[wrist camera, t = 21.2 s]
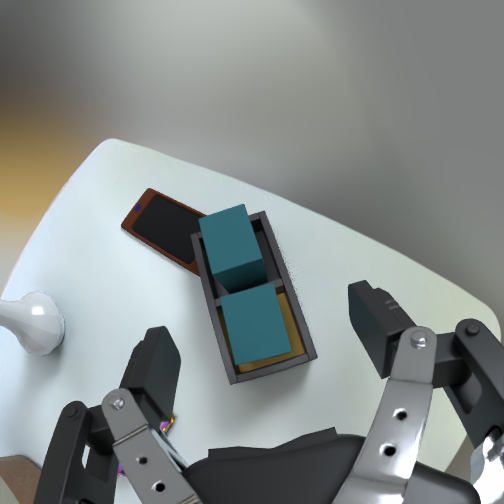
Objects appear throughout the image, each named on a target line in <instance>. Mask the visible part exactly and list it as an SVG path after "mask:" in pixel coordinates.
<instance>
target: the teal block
mask: <svg viewBox="0 0 504 504" xmlns="http://www.w3.org/2000/svg"><path fill="white" fill-rule="evenodd" d="M220 300H221V305H222V309H223V314H224V318H225V323H226V327H227V331H228V336H229V340H230V344H231V348H232V353H233V357H234V361H235V365H240V364H246V363H250V362H255V361H259V360H263V359H267V358H271V357H275V356H279V355H282V354H286V353H290V352H292V349H291V346H290V342H289V338H288V334H287V331H286V327H285V323H284V320H283V316H282V312H281V309H280V305H279V302H278V298H277V294H276V291H275V287H274V284H273V283H271V284H268V285H264V286H260V287H257V288H253V289H249V290H245V291H241V292H238V293H234V294H230V295H226V296H222V297H220Z"/></svg>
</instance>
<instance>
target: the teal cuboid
mask: <svg viewBox="0 0 504 504" xmlns="http://www.w3.org/2000/svg"><path fill="white" fill-rule="evenodd" d="M199 224H200V228H201V232H202V236H203V240H204V244H205V248H206V252H207V256H208V260H209V264H210V268H211V272H212V275H213V276H214V277H215V278H216V279H217V280H218V282H219V283H220V284H221V285H222V286H223V287H224V289H225V290H226V291H227V292H228V293H229V294H234V293H237V292H240V291H243V290H246V289H249V288H253V287H256V286H259V285H262V284H265V283H268V280H267V275H266V271H265V266H264V262H263V257H262V255H261V252H260V249H259V246H258V243H257V240H256V237H255V234H254V231H253V228H252V225H251V223H250V220H249V217H248V214H247V211H246V208H245V205H244V204H241V205H238V206H235V207H232V208H229V209H226V210H223V211H220V212H217V213H214V214H211V215H208V216H205V217H202V218H199Z"/></svg>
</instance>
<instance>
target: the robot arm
mask: <svg viewBox="0 0 504 504" xmlns="http://www.w3.org/2000/svg"><path fill="white" fill-rule="evenodd" d="M348 299H349V316H350V321H351V324H352V326H353V328H354V330H355V332H356V333H357V335H358V337H359V339H360V341H361V342H362V344H363V346H364V348H365V350H366V351H367V353H368V355H369V357H370V359H371V360H372V362H373V364H374V366H375V368H376V370H377V372H378V373H379V375H380V377H381V379H384V378H386V377H389V376H390V378H388V380H387V383H386V386H385V389H384V392H383V395H382V398H381V401H380V404H379V407H378V410H377V412H376V415H375V418H374V420H373V423H372V425H371V428H370V430H369V433H368V435H367V437H364V436H359V435H353V434H337V433H336V430H335V427H332V428H329V429H325V430H321V431H318V432H314V433H310V434H305V435H302V436H300V437H298V438H296V439H293V440H291V441H289V442H287V443H284V444H282V445H279V446H277V447H274V448H269V449H267V448H251V447H240V446H237V447H228V448H216V449H208V457H207V458H204V459H202V460H199V461H197V462H195V463H193V464H192V465H189V464H188V463H187V462H186V461H185V460H184V459H183V458H182V457H181V455H180V454H179V453H178V451H177V450H176V449H175V447H174V446H173V445H172V443H171V442H170V441H169V439H168V438H167V436H166V435H165V434H164V432H163V431H162V430H161V429H160V424H161V422H171V417H172V411H173V405H174V399H175V393H176V387H177V382H178V376H179V371H180V365H181V358H180V354H179V351H178V349H177V347H176V345H175V343H174V341H173V339H172V337H171V335H170V333H169V331H168V329H167V328H166V327H165V326H160V327H155V328H149V329H148V330H147V332H146V335H145V337H144V340H143V341H140V342H139V343H138V344H137V346H136V347H135V348H134V349H133V352H132V354H131V357H130V358H131V359H130V360H129V362H128V366H127V367H126V370H125V373H124V375H123V378H122V381H121V384H120V386H119V389H115V390H113V391H111V392H110V393H108V394H107V395H106V396H105V398H104V399H103V401H102V405H98V406H95V407H91V408H87V407H86V406H85V405H84V404H83V403H82V402H81V401H73V402H71V403H69V404H67V405H66V406H65V407H64V408H63V410H62V412H61V414H60V417H59V420H58V422H57V425H56V428H55V430H54V433H53V436H52V439H51V442H50V445H49V448H48V451H47V454H46V457H45V461H44V464H43V467H42V471H41V474H40V478H39V482H38V485H37V489H36V494H35V498H34V502H33V504H114V496H115V489H116V481H117V474H118V468H119V462H120V464H121V466H122V468H123V470H124V472H125V474H126V476H127V478H128V480H129V481H130V483H131V485H132V487H133V489H134V490H135V492H136V494H137V495H138V497H139V499H140V500H141V502H142V504H493V503H495V502H496V501H498V500H499V499H500V498H502V497H503V496H504V347H503V345H502V344H501V343H500V342H499V341H498V339H497V338H496V337H495V336H494V335H493V334H492V333H491V331H490V330H489V329H488V328H487V327H486V326H485V325H484V324H483V323H482V322H481V321H479V320H476V319H464V320H462V321H460V322H459V323H458V324H457V326H456V329H455V332H451V333H445V334H435V333H434V332H433V331H432V330H431V329H429V328H427V327H423V326H417V325H416V324H415V323H414V322H413V321H412V319H411V318H410V317H409V316H408V315H407V313H406V312H405V311H404V310H403V309H402V308H401V306H399V304H398V303H397V302H396V301H395V300H394V298H393V297H392V296H391V295H390V294H389V293H388V292H386V291H384V290H382V289H380V288H376V289H373V288H372V287H371V286H370V284H369V283H368V282H367V281H366V280H363V281H359V282H356V283H352V284H349V285H348ZM441 387H443V389H444V391H445V392H446V394H447V396H448V398H449V399H450V401H451V403H452V405H453V407H454V409H455V410H456V412H457V414H458V416H459V418H460V420H461V422H462V424H463V426H464V428H465V430H466V432H467V434H468V436H469V438H470V440H471V442H472V444H473V446H474V448H475V451H474V452H473V454H472V456H471V459H470V467H471V472H472V476H471V480H470V483H469V482H468V481H466V480H463V479H460V478H458V477H455V476H452V475H450V474H447V473H444V472H442V471H439V470H437V469H434V468H432V467H429V466H427V465H425V464H422V463H420V462H418V461H416V458H417V455H418V451H419V448H420V444H421V441H422V437H423V434H424V430H425V426H426V422H427V417H428V413H429V408H430V403H431V398H432V393H433V389H435V388H441ZM85 445H87V446H88V447H90V451H89V455H88V459H87V464H86V468H84V467H83V464H82V457H83V453H84V449H85Z"/></svg>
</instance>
